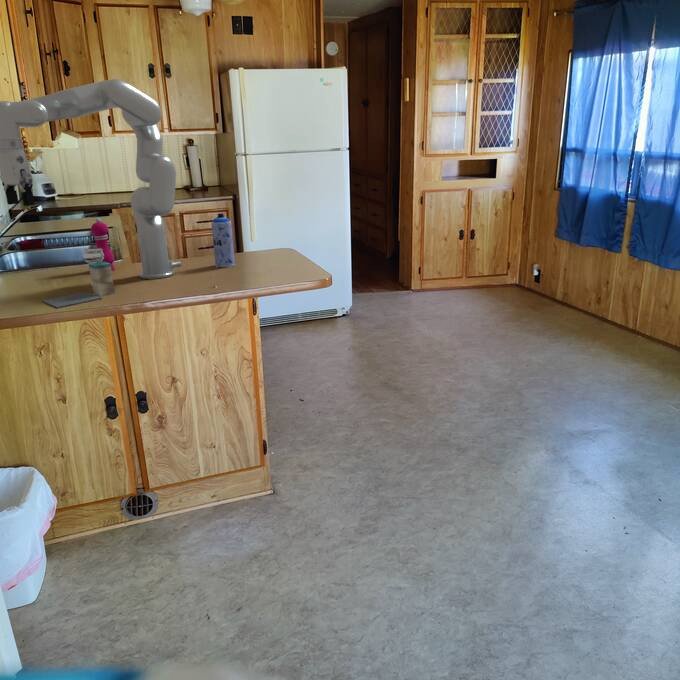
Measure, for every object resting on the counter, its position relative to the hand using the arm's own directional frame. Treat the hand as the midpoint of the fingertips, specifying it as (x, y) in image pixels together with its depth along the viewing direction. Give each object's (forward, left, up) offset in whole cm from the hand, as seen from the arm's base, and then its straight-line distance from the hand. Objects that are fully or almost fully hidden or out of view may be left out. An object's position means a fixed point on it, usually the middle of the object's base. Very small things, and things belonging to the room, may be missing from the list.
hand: (21, 204), depth 185 cm
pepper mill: (-34, -26, -30) cm, 52 cm away
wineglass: (-22, -6, -30) cm, 38 cm away
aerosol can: (-68, +5, -30) cm, 74 cm away
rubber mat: (-6, +10, -30) cm, 32 cm away
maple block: (-17, +10, -30) cm, 36 cm away
